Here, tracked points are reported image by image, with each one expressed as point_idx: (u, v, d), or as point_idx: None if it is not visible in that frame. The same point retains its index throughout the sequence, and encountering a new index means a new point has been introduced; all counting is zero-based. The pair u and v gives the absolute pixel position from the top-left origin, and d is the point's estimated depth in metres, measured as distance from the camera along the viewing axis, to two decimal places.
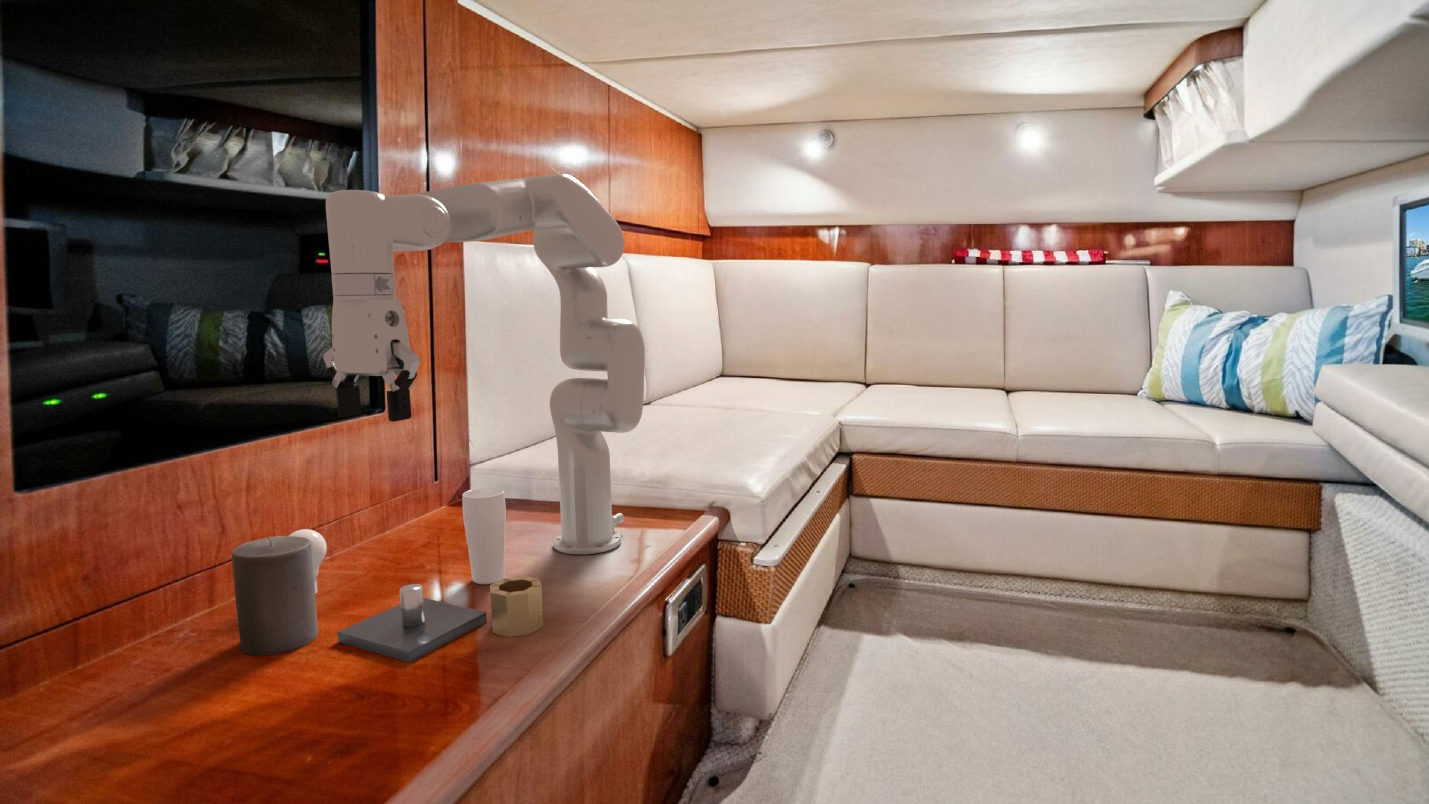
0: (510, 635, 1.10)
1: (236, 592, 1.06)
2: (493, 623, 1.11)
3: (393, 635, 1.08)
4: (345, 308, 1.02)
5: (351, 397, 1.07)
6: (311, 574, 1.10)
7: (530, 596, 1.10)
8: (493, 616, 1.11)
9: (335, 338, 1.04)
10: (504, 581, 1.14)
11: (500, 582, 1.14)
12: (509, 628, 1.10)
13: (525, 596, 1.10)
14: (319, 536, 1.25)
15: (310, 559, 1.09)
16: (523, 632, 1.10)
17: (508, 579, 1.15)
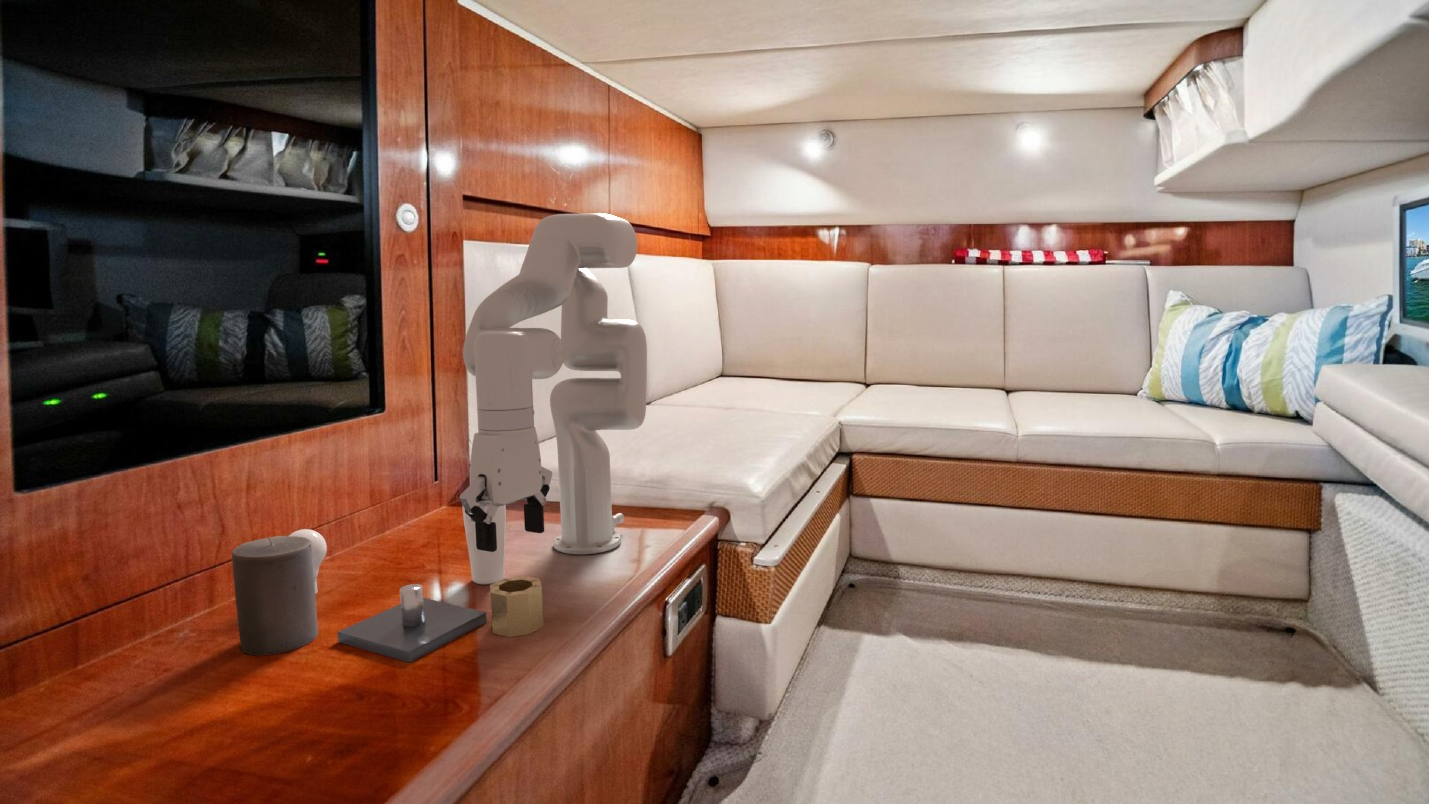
0: (510, 635, 1.10)
1: (236, 592, 1.06)
2: (493, 623, 1.11)
3: (393, 635, 1.08)
4: (517, 440, 1.08)
5: None
6: (311, 574, 1.10)
7: (530, 596, 1.10)
8: (493, 616, 1.11)
9: (502, 472, 1.06)
10: (504, 581, 1.14)
11: (500, 582, 1.14)
12: (509, 628, 1.10)
13: (525, 596, 1.10)
14: (319, 536, 1.25)
15: (310, 559, 1.09)
16: (523, 632, 1.10)
17: (508, 579, 1.15)
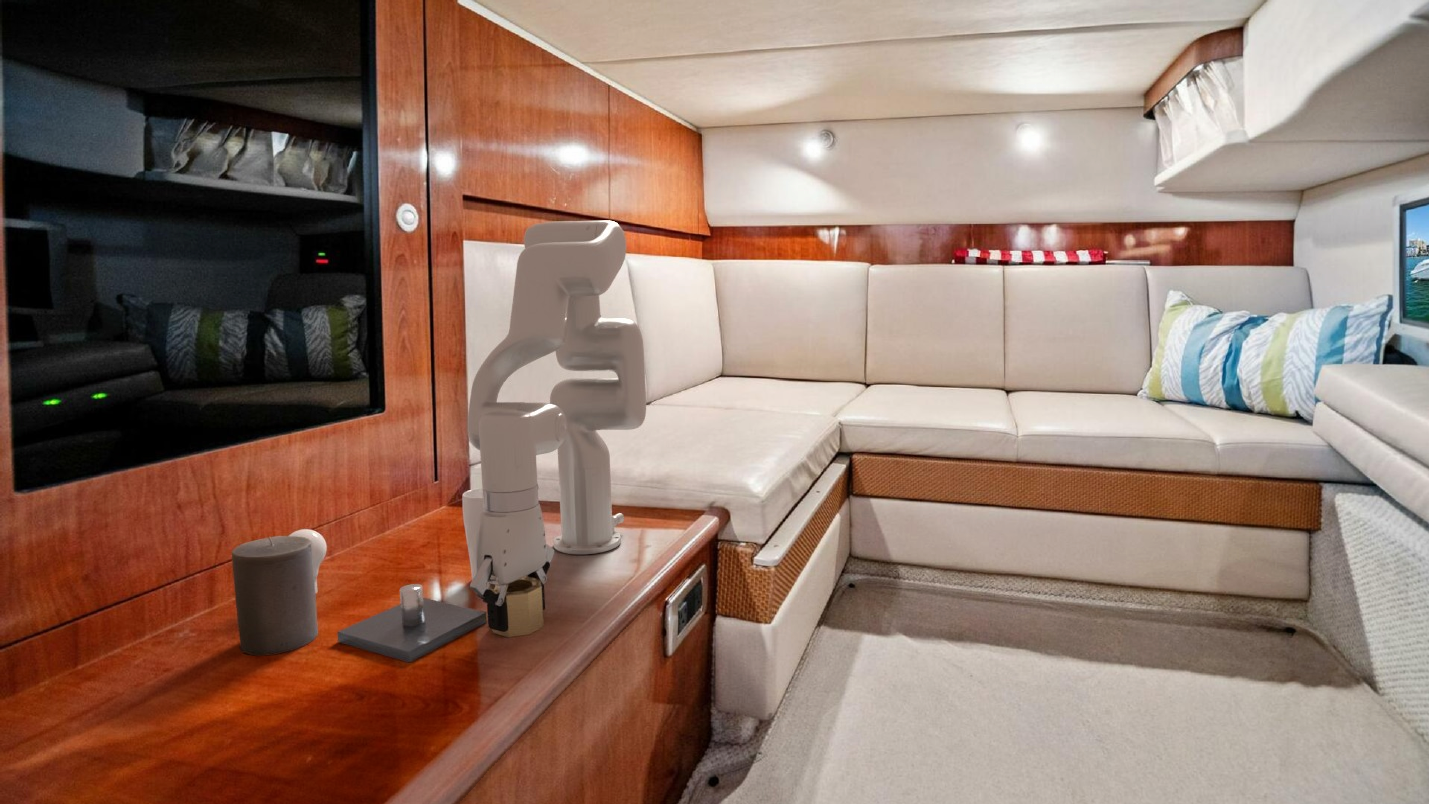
0: (510, 635, 1.10)
1: (236, 592, 1.06)
2: None
3: (393, 635, 1.08)
4: (522, 519, 1.09)
5: None
6: (311, 574, 1.10)
7: (530, 596, 1.10)
8: None
9: (507, 552, 1.08)
10: None
11: None
12: (509, 628, 1.10)
13: (525, 596, 1.10)
14: (319, 536, 1.25)
15: (310, 559, 1.09)
16: (523, 632, 1.10)
17: None
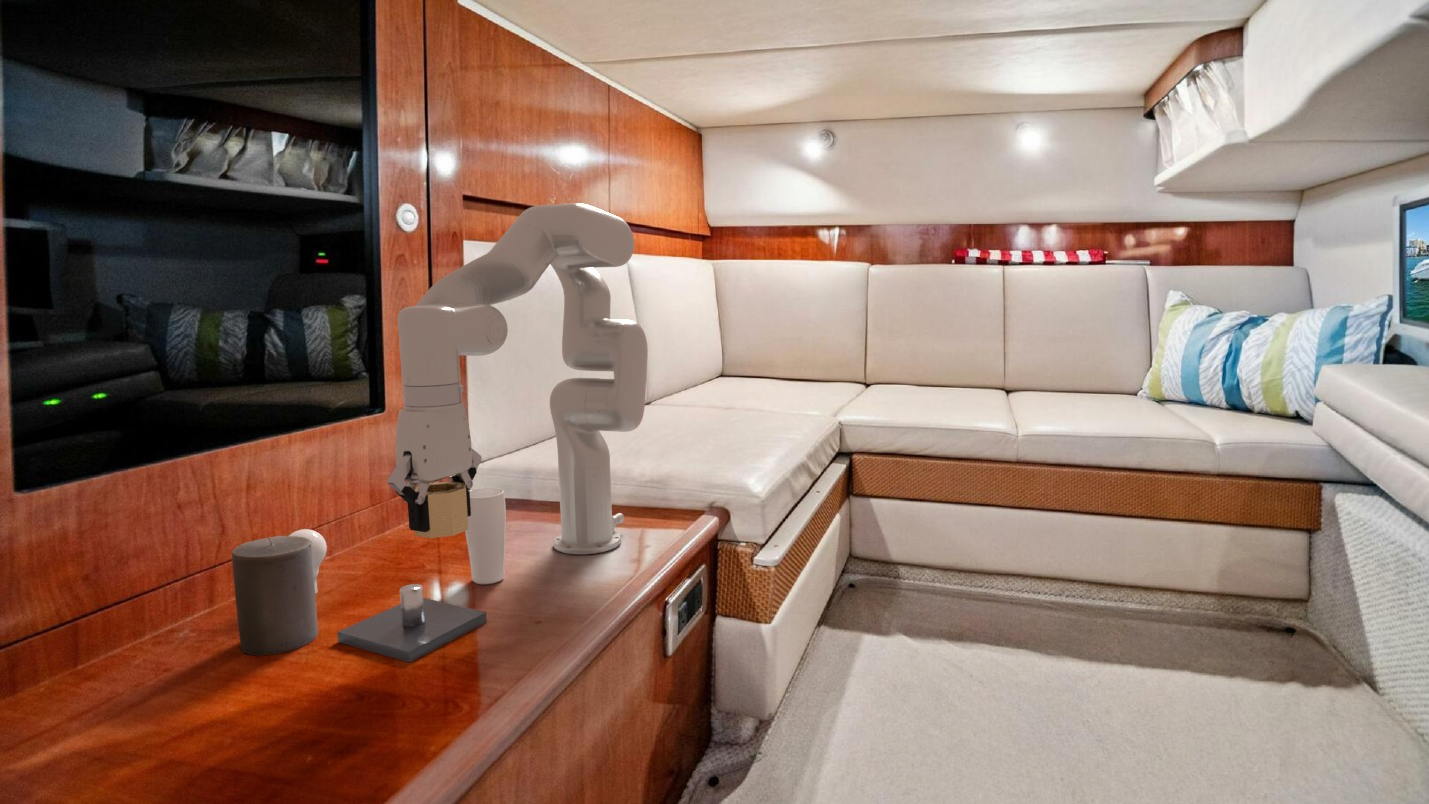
0: (432, 536, 1.07)
1: (236, 592, 1.06)
2: None
3: (393, 635, 1.08)
4: (443, 416, 1.06)
5: None
6: (311, 574, 1.10)
7: (453, 496, 1.07)
8: None
9: (427, 449, 1.04)
10: None
11: None
12: (431, 529, 1.06)
13: (447, 496, 1.07)
14: (319, 536, 1.25)
15: (310, 559, 1.09)
16: (446, 533, 1.07)
17: (432, 483, 1.12)
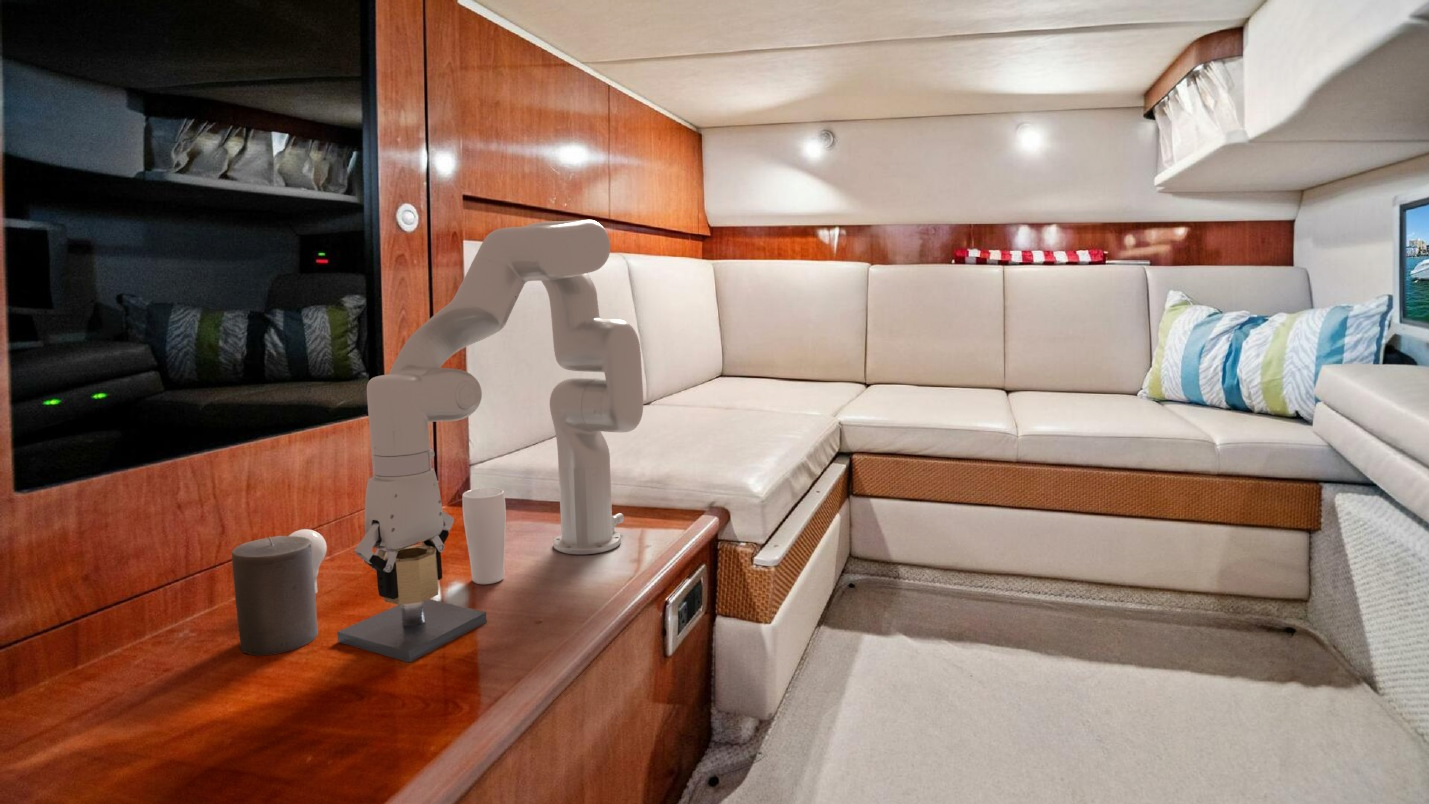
0: (401, 603, 1.08)
1: (236, 592, 1.06)
2: None
3: (393, 635, 1.08)
4: (412, 485, 1.07)
5: None
6: (311, 574, 1.10)
7: (421, 563, 1.08)
8: None
9: (395, 518, 1.05)
10: None
11: None
12: (399, 596, 1.07)
13: (416, 563, 1.08)
14: (319, 536, 1.25)
15: (310, 559, 1.09)
16: (414, 599, 1.08)
17: None
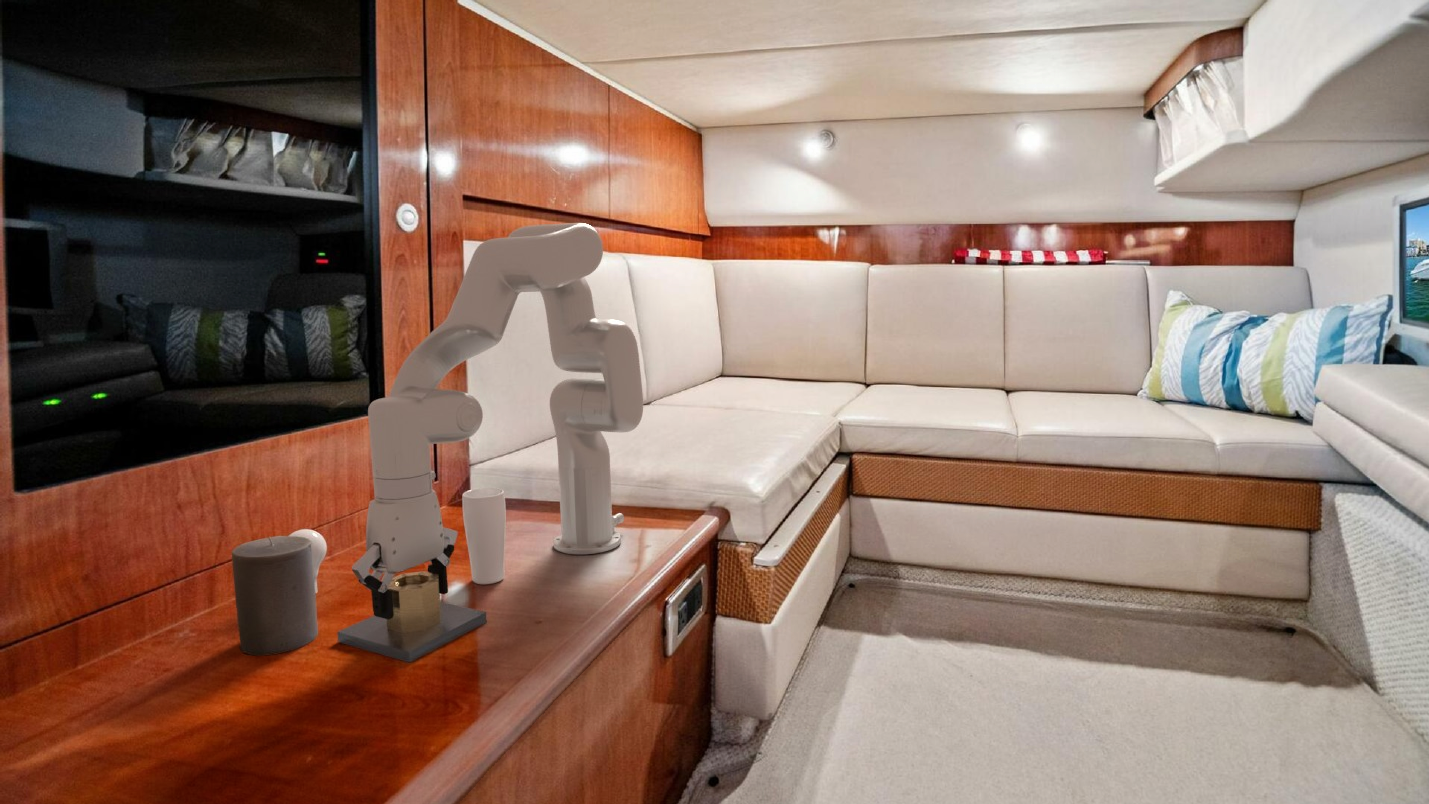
0: (403, 631, 1.08)
1: (236, 592, 1.06)
2: None
3: (393, 635, 1.08)
4: (413, 507, 1.08)
5: None
6: (311, 574, 1.10)
7: (424, 591, 1.09)
8: None
9: (397, 540, 1.06)
10: (402, 576, 1.13)
11: (397, 577, 1.12)
12: (402, 623, 1.08)
13: (418, 591, 1.08)
14: (319, 536, 1.25)
15: (310, 559, 1.09)
16: (417, 627, 1.09)
17: (406, 574, 1.14)
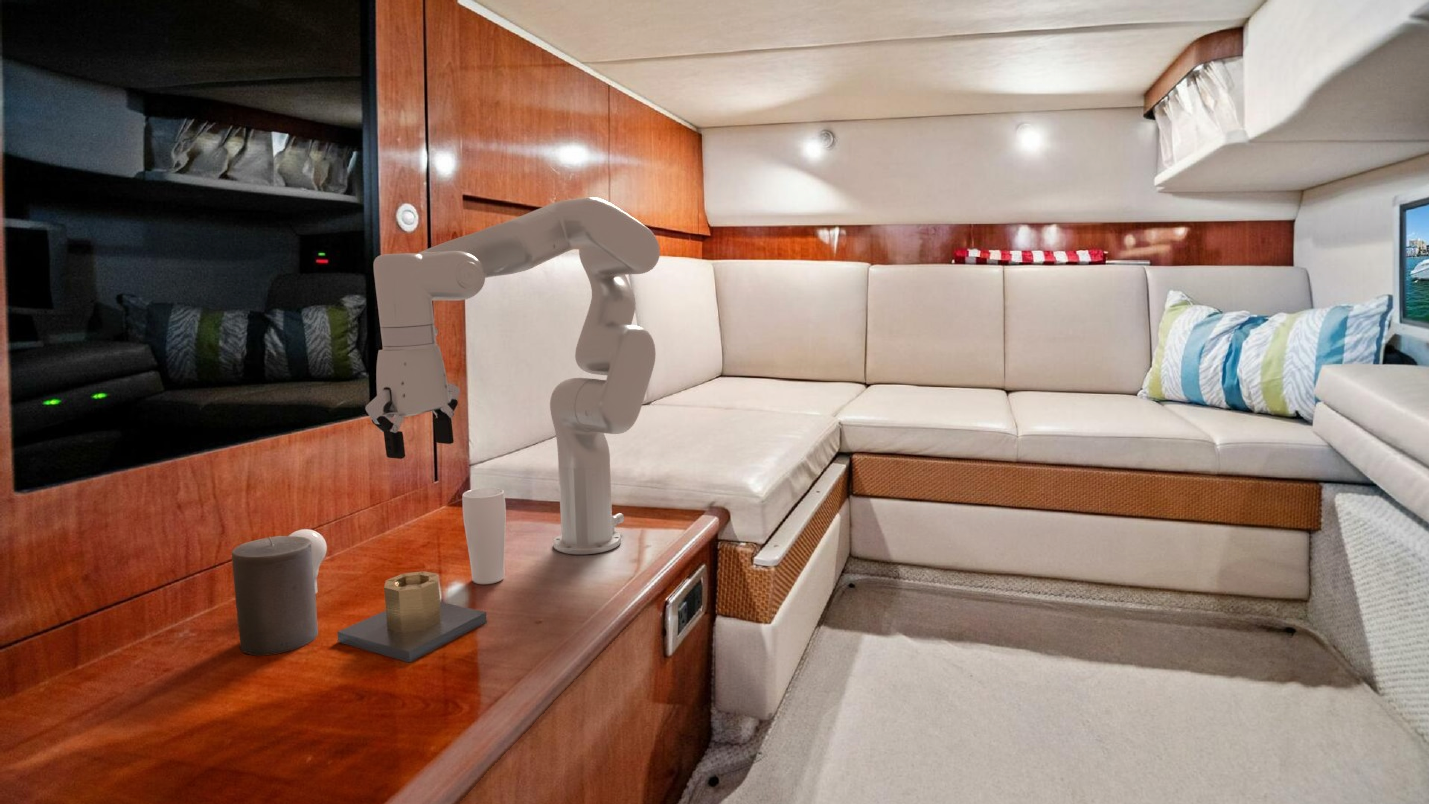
0: (403, 631, 1.08)
1: (236, 592, 1.06)
2: (387, 618, 1.09)
3: (393, 635, 1.08)
4: (419, 355, 1.16)
5: None
6: (311, 574, 1.10)
7: (424, 591, 1.09)
8: (387, 611, 1.09)
9: (405, 384, 1.14)
10: (402, 576, 1.13)
11: (397, 577, 1.12)
12: (402, 623, 1.08)
13: (418, 591, 1.08)
14: (319, 536, 1.25)
15: (310, 559, 1.09)
16: (417, 627, 1.09)
17: (406, 574, 1.14)
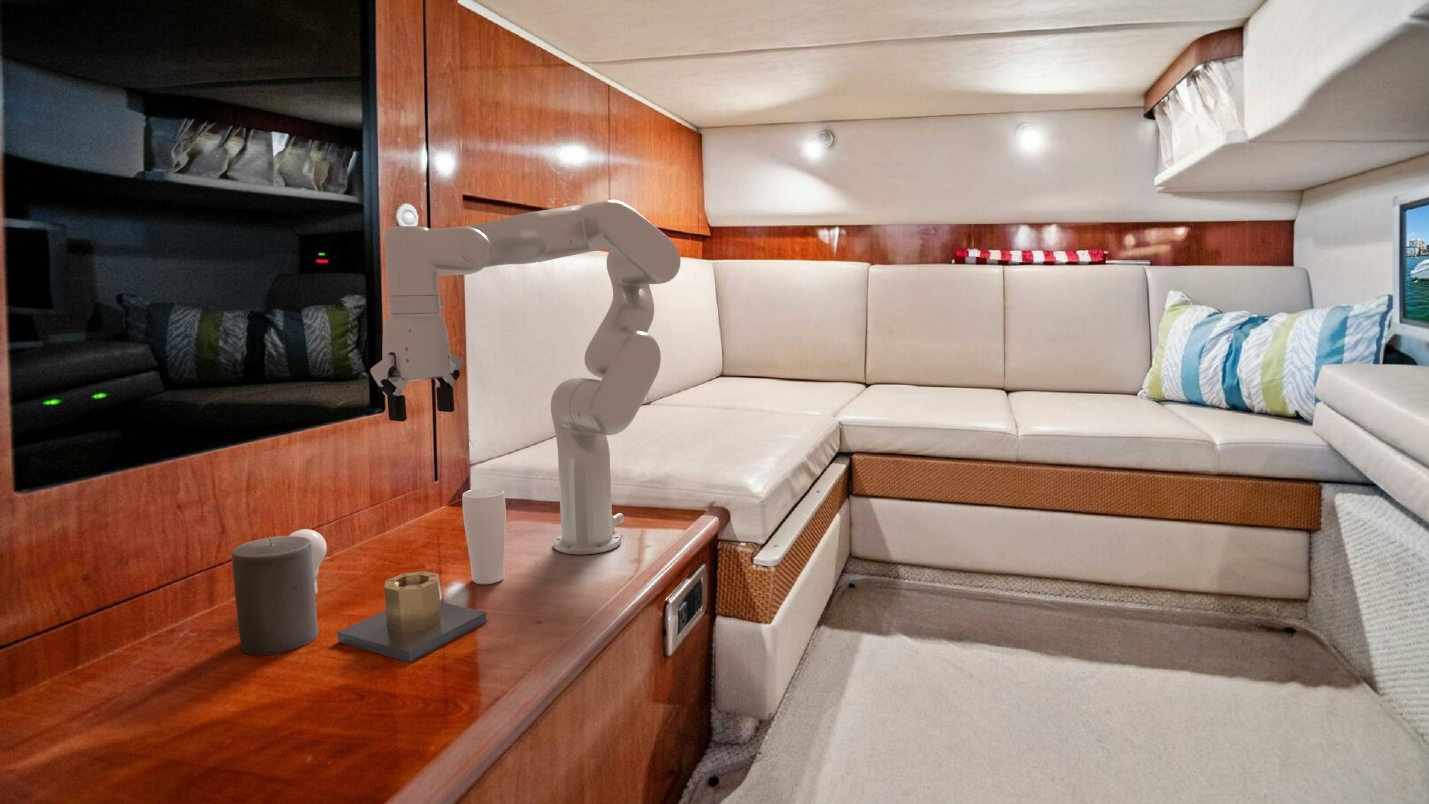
0: (403, 631, 1.08)
1: (236, 592, 1.06)
2: (387, 618, 1.09)
3: (393, 635, 1.08)
4: (424, 324, 1.22)
5: None
6: (311, 574, 1.10)
7: (424, 591, 1.09)
8: (387, 611, 1.09)
9: (409, 350, 1.20)
10: (402, 576, 1.13)
11: (397, 577, 1.12)
12: (402, 623, 1.08)
13: (418, 591, 1.08)
14: (319, 536, 1.25)
15: (310, 559, 1.09)
16: (417, 627, 1.09)
17: (406, 574, 1.14)
